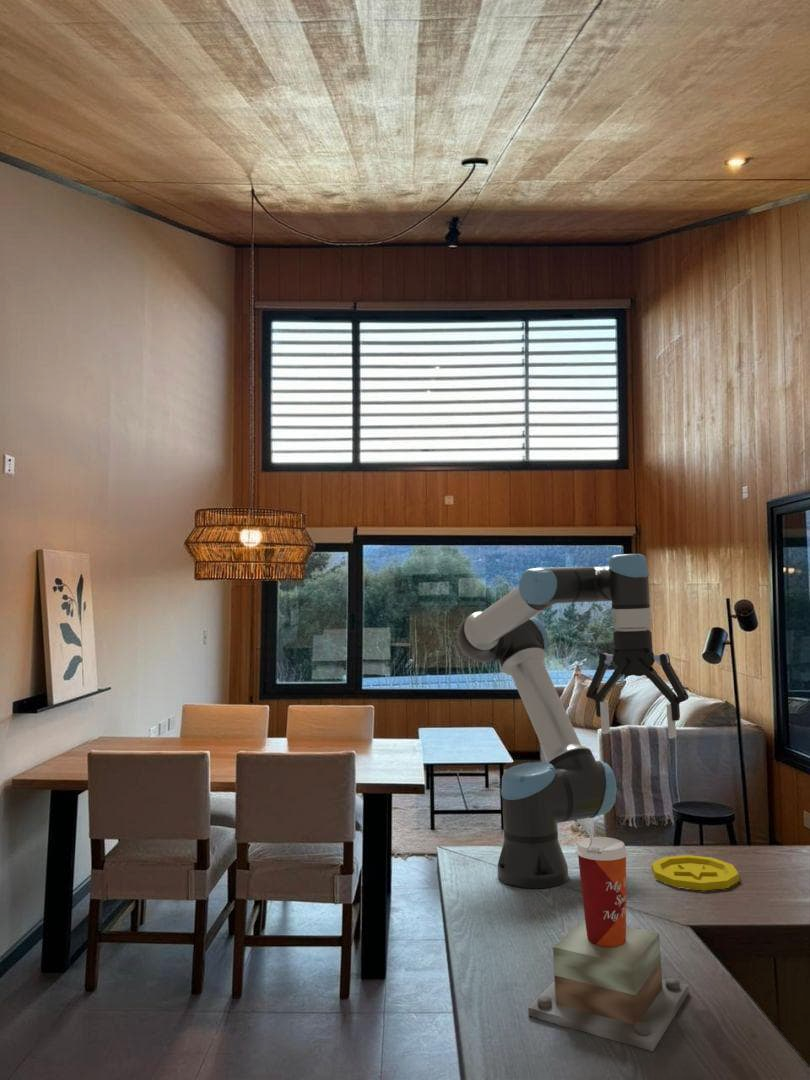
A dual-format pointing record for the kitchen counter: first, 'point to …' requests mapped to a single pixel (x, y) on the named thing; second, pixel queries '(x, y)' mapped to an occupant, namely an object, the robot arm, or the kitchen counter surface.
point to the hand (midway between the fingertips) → (638, 735)
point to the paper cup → (603, 889)
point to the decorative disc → (695, 872)
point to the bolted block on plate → (611, 989)
